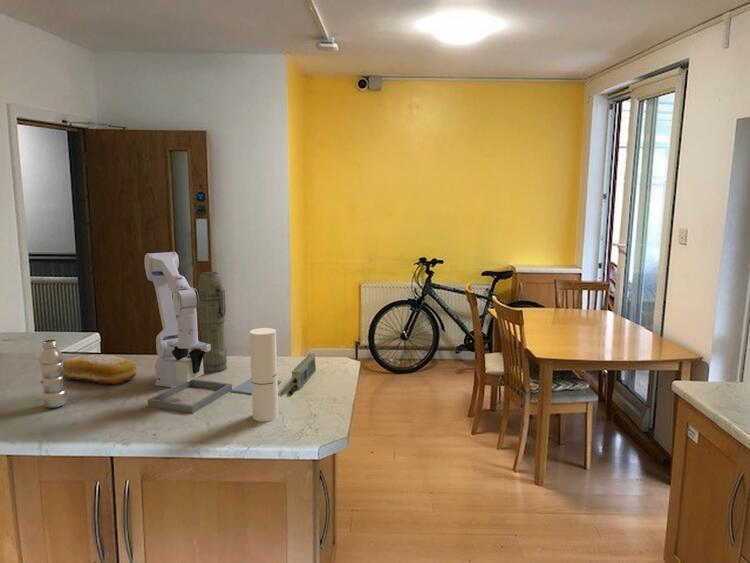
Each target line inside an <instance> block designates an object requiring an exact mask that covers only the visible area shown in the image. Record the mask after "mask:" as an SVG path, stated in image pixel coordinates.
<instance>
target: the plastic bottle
mask: <svg viewBox="0 0 750 563" xmlns="http://www.w3.org/2000/svg"><path fill="white" fill-rule="evenodd" d="M41 344H42V349H43V350H42V352H41V353H40V355H39V357H38V363H39V367H40V370H41V375H42V385H43V386H42V391H43V392H42V403H43V405H44V406H45V407H46V408H49V409H52V408H58V407H62V406H64V405H65V404H67V403H66V402H67V401H68V393H67V389H66V386H65V382H64V375H63V362H64V355H63V353H62V352H61V351H60V350H59V349H58V348H57V347H58V344H57V339H46V340H43V341H42V342H41Z"/></svg>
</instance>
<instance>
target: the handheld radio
mask: <svg viewBox="0 0 750 563" xmlns="http://www.w3.org/2000/svg"><path fill="white" fill-rule="evenodd" d="M316 371H317V368H316V354H315V353H308V354H307V355H306V356H305V357H304V358H303V359H302V360H301V361H300V362H299V363H298V364H297V366H295V367H294V368H293V369H292V371H291V374H292V375H291V376H292V388H291V389H290V390H289V391H288V395H290V396H292V395H293V393H295V392H296V391H300V390H301V389H302V388H303V386H305V384H306V383H307V382H308V381H309V380H310V378H312V376H313V375H314V374H315V372H316Z"/></svg>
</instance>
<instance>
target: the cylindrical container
mask: <svg viewBox="0 0 750 563" xmlns="http://www.w3.org/2000/svg"><path fill="white" fill-rule="evenodd" d="M249 347H250V348H249V350H250V375H251V376H250V378H251V380H252V395H251V399H252V400H251V401H252V402H251V405H252V418H253V420H254V421H257V422H271V421H274V420H276V419H277V418H278V417H279V397H278V396H279V393H278V392H279V390H278V389H279V388H278V387H279V386H278V385H279V384H278V385H277V380H278V362H277V361H278V359H277V358H278V356H277V352H278V351H277V330H276V329H274V328H271V327H259V328H253V329H250V331H249Z"/></svg>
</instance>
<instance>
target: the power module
mask: <svg viewBox="0 0 750 563" xmlns="http://www.w3.org/2000/svg"><path fill="white" fill-rule="evenodd" d="M187 355H188V356H187V357H185V358H182V359H180V360H178V361H175V367H176V381H182V382H189V381H191V380H193V379H198V377H201V376H202V375H204V374H205V372H204V369H203V359H202V361H201V365H200V370H199V372H198V373H196V374H194V373H193V368H192V361H191V357H190V355H189V354H187Z"/></svg>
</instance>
